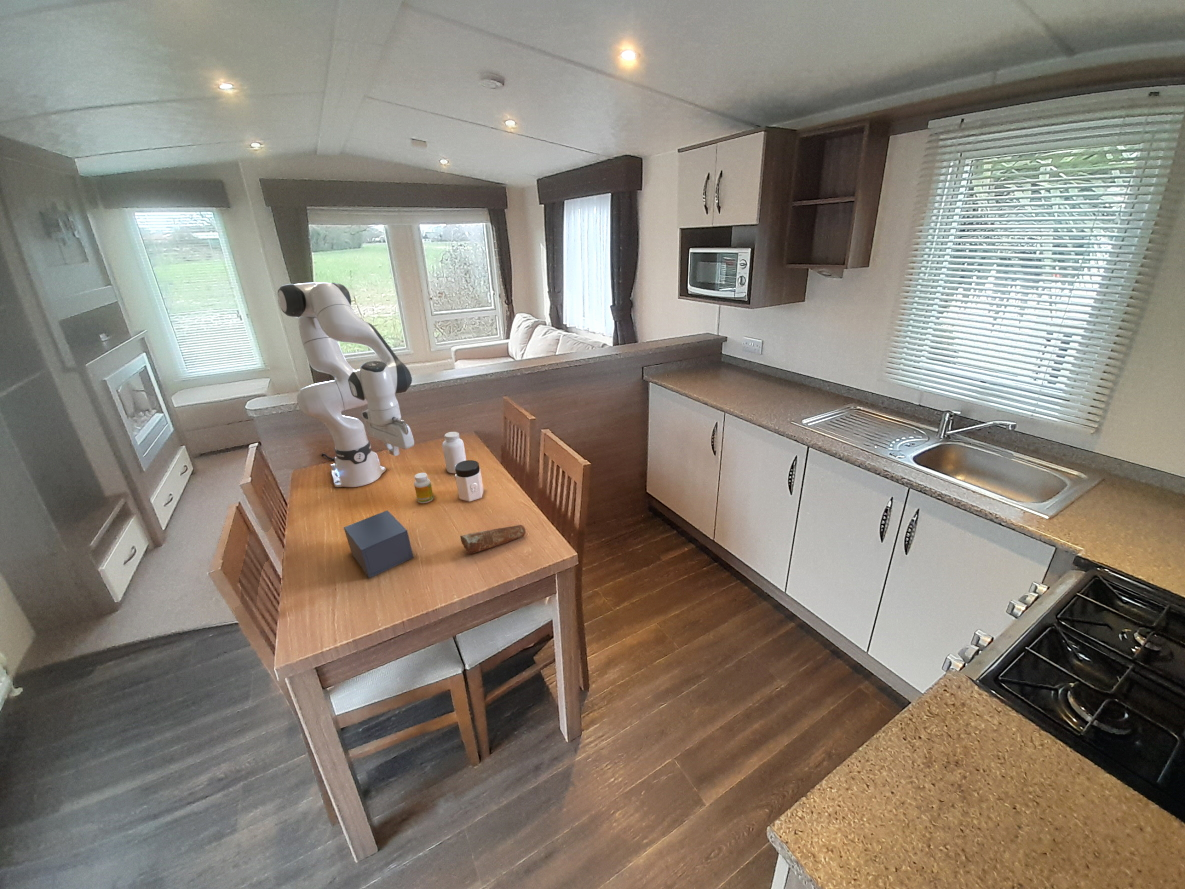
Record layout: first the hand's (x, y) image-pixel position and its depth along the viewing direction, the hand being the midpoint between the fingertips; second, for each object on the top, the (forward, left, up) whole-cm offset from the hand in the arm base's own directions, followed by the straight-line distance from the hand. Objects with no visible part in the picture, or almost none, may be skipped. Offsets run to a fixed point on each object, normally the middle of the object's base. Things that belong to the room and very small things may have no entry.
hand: (394, 454), depth 153 cm
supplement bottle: (-1, +7, -21) cm, 22 cm away
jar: (+8, +20, -21) cm, 30 cm away
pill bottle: (-14, +26, -21) cm, 36 cm away
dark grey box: (+20, -16, -21) cm, 33 cm away
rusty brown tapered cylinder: (+38, +11, -21) cm, 45 cm away
